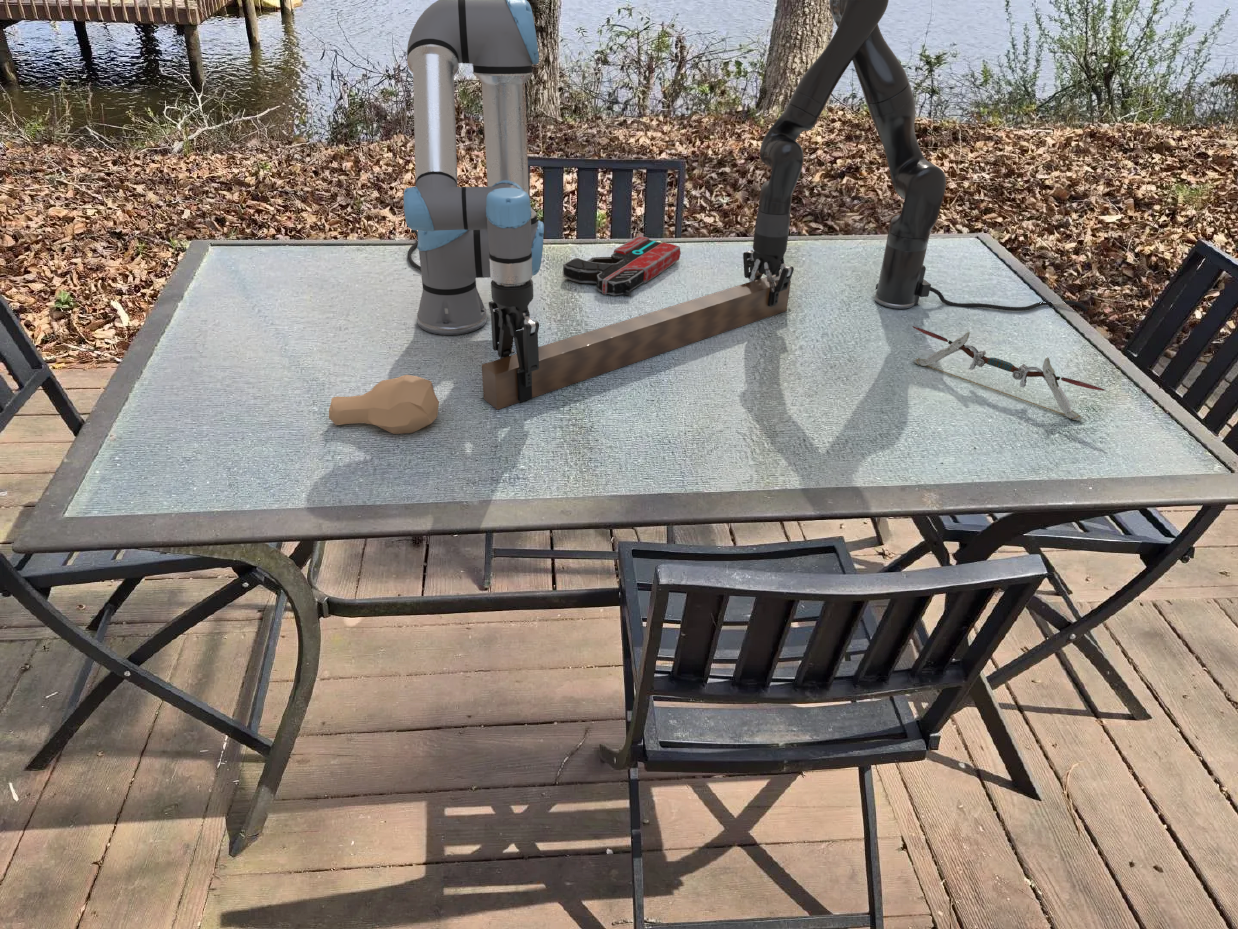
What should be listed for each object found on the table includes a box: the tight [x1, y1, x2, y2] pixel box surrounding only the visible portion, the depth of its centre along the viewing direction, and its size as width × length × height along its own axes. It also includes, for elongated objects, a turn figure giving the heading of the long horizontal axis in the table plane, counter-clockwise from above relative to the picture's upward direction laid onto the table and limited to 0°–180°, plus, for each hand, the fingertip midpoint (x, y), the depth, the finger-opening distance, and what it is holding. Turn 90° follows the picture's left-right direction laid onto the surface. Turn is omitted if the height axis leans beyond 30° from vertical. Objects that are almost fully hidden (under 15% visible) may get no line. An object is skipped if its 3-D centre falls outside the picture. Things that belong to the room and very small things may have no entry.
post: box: [481, 274, 792, 411], centre depth 185 cm, size 80×5×8 cm, turn 128°
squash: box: [328, 374, 440, 435], centre depth 157 cm, size 11×20×9 cm, turn 90°
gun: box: [562, 235, 682, 297], centre depth 223 cm, size 4×31×19 cm
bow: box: [912, 325, 1106, 421], centre depth 173 cm, size 39×2×10 cm, turn 47°
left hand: (517, 393), depth 169 cm, fingers closed on post, 5 cm apart
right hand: (762, 301), depth 204 cm, fingers closed on post, 5 cm apart
